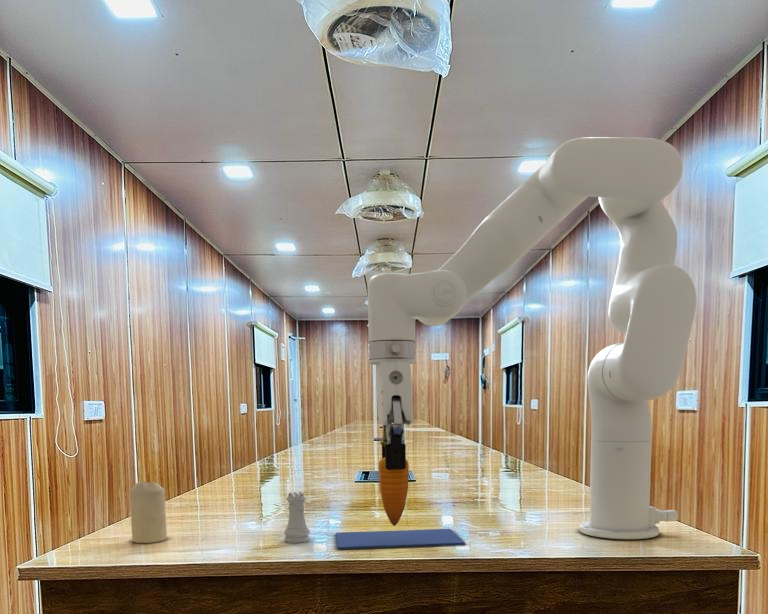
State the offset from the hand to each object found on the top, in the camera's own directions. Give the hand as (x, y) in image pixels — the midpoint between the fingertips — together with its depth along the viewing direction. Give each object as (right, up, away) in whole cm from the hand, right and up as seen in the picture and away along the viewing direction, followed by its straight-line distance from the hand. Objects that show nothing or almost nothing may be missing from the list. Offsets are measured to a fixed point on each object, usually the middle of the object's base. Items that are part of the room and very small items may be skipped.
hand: (393, 466), depth 107 cm
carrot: (0, -10, +1) cm, 10 cm away
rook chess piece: (-16, -13, +2) cm, 20 cm away
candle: (-41, -13, +4) cm, 43 cm away
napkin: (+1, -12, +1) cm, 12 cm away
